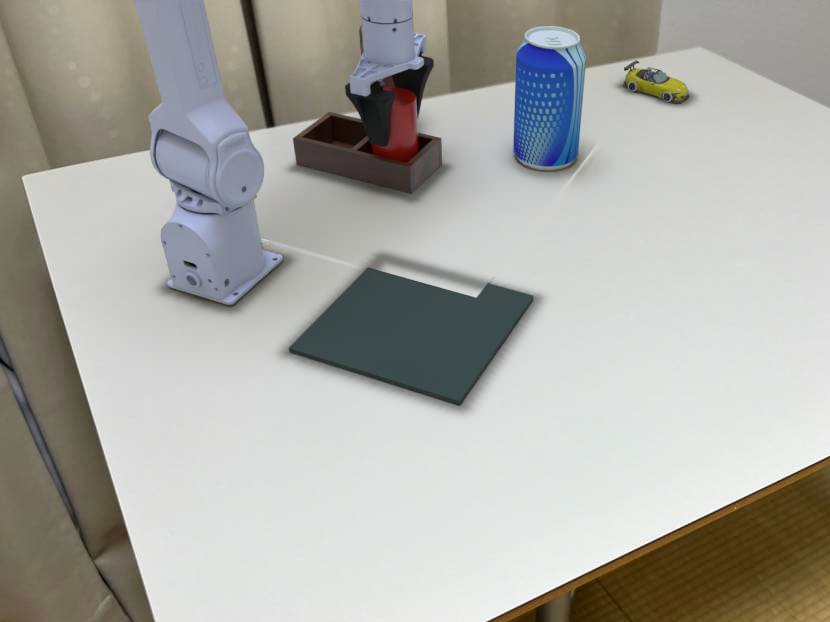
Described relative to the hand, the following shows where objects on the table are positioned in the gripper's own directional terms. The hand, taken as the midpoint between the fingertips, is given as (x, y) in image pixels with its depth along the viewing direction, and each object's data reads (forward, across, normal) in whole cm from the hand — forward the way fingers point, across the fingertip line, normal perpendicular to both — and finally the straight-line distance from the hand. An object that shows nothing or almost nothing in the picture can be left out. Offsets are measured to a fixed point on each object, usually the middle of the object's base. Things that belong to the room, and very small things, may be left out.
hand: (394, 130), depth 107 cm
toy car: (+6, +40, -22) cm, 46 cm away
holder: (+6, 0, +4) cm, 7 cm away
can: (+5, 0, 0) cm, 5 cm away
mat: (+6, -26, -16) cm, 31 cm away
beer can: (+6, +12, -15) cm, 20 cm away
